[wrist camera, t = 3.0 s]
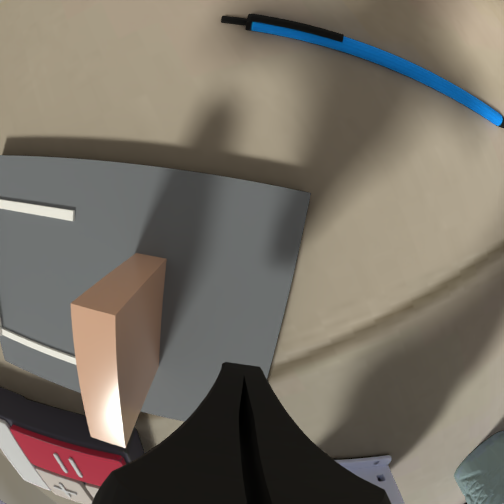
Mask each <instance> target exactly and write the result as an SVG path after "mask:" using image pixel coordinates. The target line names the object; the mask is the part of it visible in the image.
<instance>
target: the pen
mask: <svg viewBox="0 0 504 504" xmlns="http://www.w3.org/2000/svg"><path fill="white" fill-rule="evenodd" d="M221 22H222V23H231V24H238V25H245V26H246V30H251V31H257V32H263V33H269V34H274V35H279V36H284V37H289V38H293V39H298V40H302V41H306V42H310V43H314V44H317V45H321V46H325V47H328V48H332V49H335V50H338V51H342V52H345V53H348V54H351V55H354V56H357V57H360V58H363V59H366V60H368V61H371V62H374V63H376V64H379V65H382V66H384V67H387V68H389V69H392V70H394V71H396V72H399V73H401V74H403V75H406V76H408V77H410V78H412V79H415V80H417V81H419V82H421V83H423V84H425V85H427V86H429V87H431V88H433V89H435V90H437V91H439V92H441V93H443V94H445V95H447V96H449V97H451V98H452V99H454V100H456V101H458V102H459V103H461V104H463V105H465V106H466V107H468V108H470V109H471V110H473V111H475V112H476V113H478V114H480V115H481V116H483V117H484V118H486V119H487V120H489V121H490V122H492V123H494V124H495V125H496V126H499V127H502V128H504V118H503V116H502V115H501V114H500V113H498V112H497V111H495V110H494V109H492V108H491V107H489V106H488V105H486V104H485V103H483V102H482V101H480V100H479V99H477V98H476V97H474V96H473V95H471V94H469V93H468V92H466V91H464V90H463V89H461V88H459V87H458V86H456V85H454V84H452V83H451V82H449V81H447V80H445V79H443V78H441V77H440V76H438V75H436V74H434V73H432V72H430V71H428V70H426V69H424V68H422V67H420V66H418V65H416V64H414V63H411V62H409V61H407V60H405V59H403V58H400V57H398V56H396V55H393V54H391V53H388V52H386V51H383V50H381V49H378V48H376V47H373V46H371V45H368V44H365V43H362V42H359V41H357V40H354V39H351V38H348V37H344V35H343V34H339V33H336V32H333V31H329V30H326V29H322V28H318V27H315V26H311V25H307V24H303V23H298V22H294V21H289V20H284V19H279V18H274V17H269V16H263V15H257V14H249V15H248V18H247V19H246V18H238V17H229V16H222V19H221Z"/></svg>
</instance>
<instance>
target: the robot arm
mask: <svg viewBox="0 0 504 504" xmlns="http://www.w3.org/2000/svg"><path fill="white" fill-rule="evenodd" d="M391 460H392V458H391V456H390V455H386V456H378V457H369V458H358V459H344V460H333V459H332V458H331V457H329V456H328V455H327V454H326V453H324V452H323V451H322V450H321V449H320V448H318V447H317V446H316V445H315V444H314V443H313V442H312V441H311V440H310V439H309V438H308V437H307V436H306V435H305V434H304V433H303V432H302V430H301V429H300V428H299V427H298V426H297V425H296V423H295V422H294V421H293V420H292V418H291V417H290V416H289V414H288V413H287V412H286V410H285V409H284V407H283V406H282V404H281V403H280V401H279V400H278V398H277V396H276V395H275V393H274V392H273V390H272V388H271V386H270V384H269V383H268V381H267V379H266V377H265V375H264V373H263V371H262V369H261V368H260V367H259V366H251V365H244V364H237V363H231V362H224V363H223V364H222V367H221V370H220V373H219V375H218V377H217V379H216V381H215V383H214V385H213V386H212V388H211V389H210V391H209V392H208V394H207V396H206V397H205V398H204V400H203V401H202V402H201V403H200V405H199V406H198V407H197V409H196V410H195V411H194V412H193V413H192V414H191V416H190V417H189V418H188V419H187V420H186V421H185V422H184V423H183V424H182V425H181V426H180V427H179V428H178V429H177V430H175V431H174V432H173V433H172V434H171V435H170V436H169V437H167V438H166V439H165V440H164V441H162V442H161V443H160V444H158V445H157V446H155V447H154V448H152V449H151V450H149V451H148V452H146V453H145V454H144V455H142V456H140V457H139V458H137V459H135V460H133V461H131V462H129V463H127V464H126V465H124V466H122V467H120V468H118V469H116V470H113V471H112V472H111V473H110V474H109V476H108V477H107V478H106V479H105V481H104V482H103V483H102V485H101V486H100V488H99V490H98V491H97V493H96V495H95V497H94V499H93V502H92V504H405V503H404V501H403V498H402V496H401V494H400V491H399V489H398V487H397V484H396V482H395V480H394V478H393V475H392V473H391V471H390V468H389V466H388V464H389V463H390V462H391ZM0 504H6V503H4V502H3V501H1V500H0ZM502 504H504V503H502Z"/></svg>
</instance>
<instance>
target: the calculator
mask: <svg viewBox="0 0 504 504" xmlns="http://www.w3.org/2000/svg"><path fill="white" fill-rule="evenodd" d="M0 448H1V450H2V451H3V453H4V454H5V455H6V457H7V458H8V460H9V461H10V462H11V464H12V465H13V467H14V468H15V469H16V471H17V472H18V473H19V474H20V476H21V477H22V478H23V479H24V480H25V481H27V482H30V483H32V484H34V485H36V486H39V487H41V488H44V489H46V490H49V491H51V490H52V492H53V493H54V494H56V495H58V496H61V497H64V498H67V499H70V500H73V501H76V502H79V503H82V504H92V502H93V499H94V497H95V495H96V493H97V491H98V490H99V488H100V486H101V485H102V483H103V482H104V481H105V479H106V478H107V477H108V476H109V474H110V473H111V472H112V471H113V470H116V469H118V468H120V467H122V466H124V465H126V464H127V463H129V462H131V461H133V460H135V459H137V458H139V457H140V456H142V455H144V451H143V448H142V445H141V442H140V439H139V435H138V432H137V430H136V429H135V428H133V431H132V433H131V436H130V438H129V441H128V444H127V446H126V448H123V447H120V446H117V445H114V444H110V443H107V442H104V441H101V440H98V439H96V438H93V437H91V435H90V431H89V427H88V423H87V419H86V416H84V415H81V414H77V413H73V412H69V411H66V410H62V409H58V408H54V407H51V406H47V405H44V404H40V403H37V402H33V401H30V400H27V399H25V398H24V397H23V396H21V395H19V394H16V393H14V392H11V391H9V390H6V389H4V388H2V387H0Z"/></svg>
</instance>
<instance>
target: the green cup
mask: <svg viewBox="0 0 504 504" xmlns="http://www.w3.org/2000/svg"><path fill="white" fill-rule="evenodd" d="M454 477H455V480H456V482H457V483H458V486H459V487H460V489H461V491H462V493H463V494H464V496H465V500H466V502H467V504H502V503H504V431H500V432H498V433H496V434H494V435H493V436H491V437H490V438H488V439H487V440H486V441H484V442H483V443H482V444H480V445H479V446H478V447H477V448H476V449H475V450H474V451H472V452H471V453H470V454H469V455H468V456H467V457H466V459H464V461H463V462H462V463H461V464H460V465H459V467H458V468H457V470H456V471H455V474H454Z"/></svg>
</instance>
